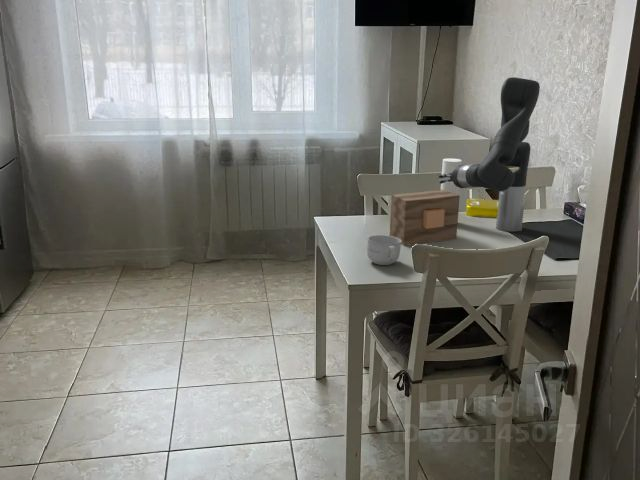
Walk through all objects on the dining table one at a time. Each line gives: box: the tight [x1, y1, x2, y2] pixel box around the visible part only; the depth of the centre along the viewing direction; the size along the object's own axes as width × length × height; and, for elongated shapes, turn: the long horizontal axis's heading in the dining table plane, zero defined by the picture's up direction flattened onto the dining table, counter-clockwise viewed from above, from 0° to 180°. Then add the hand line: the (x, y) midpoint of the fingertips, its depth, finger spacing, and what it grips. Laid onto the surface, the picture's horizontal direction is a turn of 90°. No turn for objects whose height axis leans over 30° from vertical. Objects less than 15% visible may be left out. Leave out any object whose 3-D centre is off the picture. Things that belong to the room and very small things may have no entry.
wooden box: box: [389, 189, 461, 246], centre depth 224 cm, size 10×22×16 cm, turn 113°
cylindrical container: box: [440, 157, 463, 196], centre depth 243 cm, size 7×7×25 cm
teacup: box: [366, 234, 402, 266], centre depth 199 cm, size 14×11×8 cm
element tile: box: [465, 197, 499, 219], centre depth 262 cm, size 15×15×5 cm
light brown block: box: [422, 208, 445, 229], centre depth 221 cm, size 8×7×6 cm
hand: (445, 177), depth 212 cm, fingers closed
